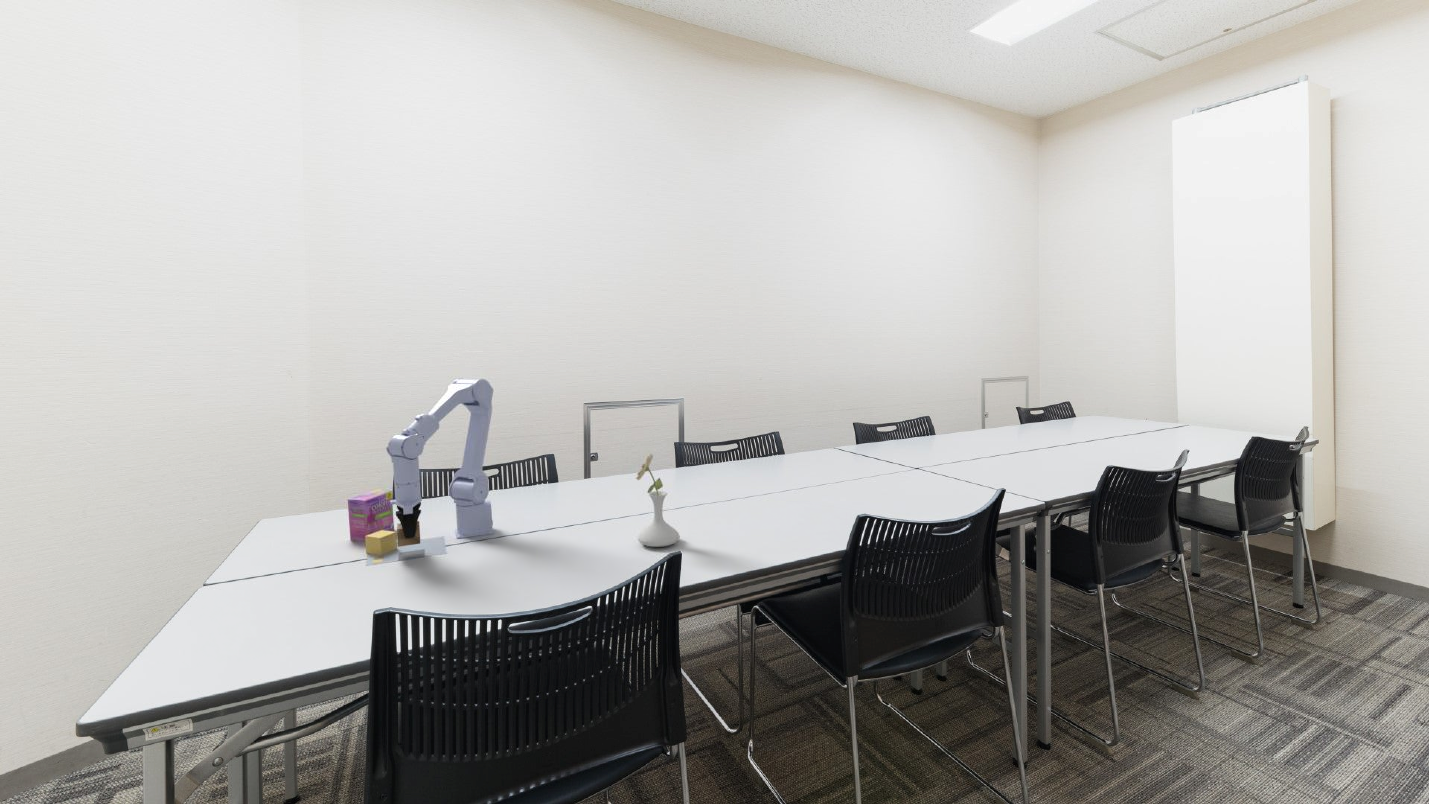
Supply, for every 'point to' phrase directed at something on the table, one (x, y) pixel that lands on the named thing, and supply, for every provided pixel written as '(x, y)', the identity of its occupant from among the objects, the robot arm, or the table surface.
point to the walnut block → (409, 541)
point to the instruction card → (410, 551)
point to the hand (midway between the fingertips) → (410, 534)
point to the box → (370, 514)
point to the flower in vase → (656, 516)
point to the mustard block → (381, 542)
